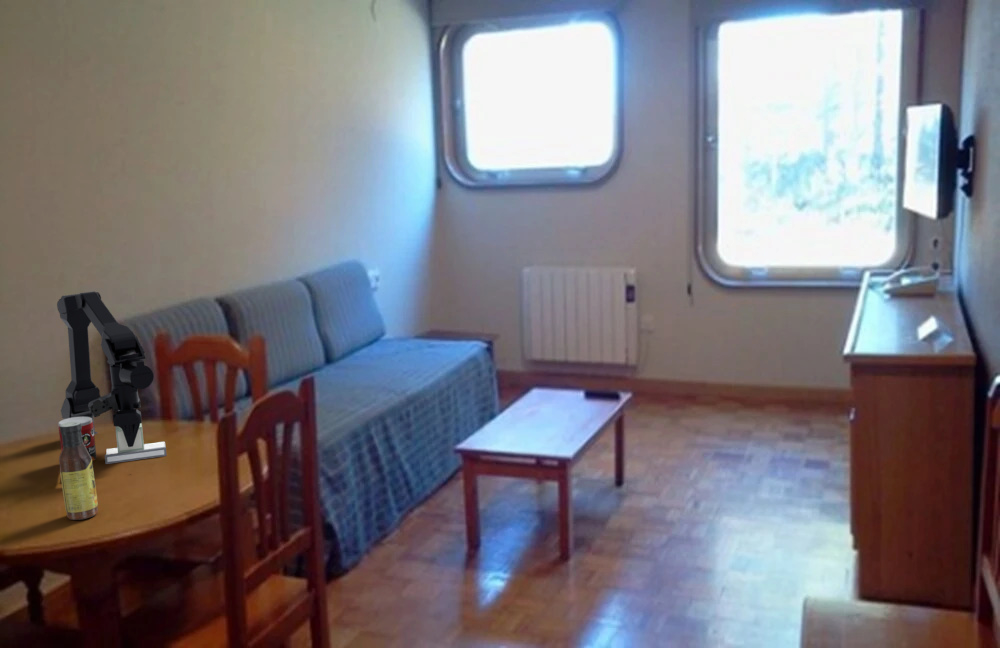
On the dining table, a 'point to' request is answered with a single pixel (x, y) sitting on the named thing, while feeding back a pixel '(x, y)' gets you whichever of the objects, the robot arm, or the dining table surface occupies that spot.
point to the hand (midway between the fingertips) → (130, 444)
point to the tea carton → (122, 442)
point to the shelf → (136, 453)
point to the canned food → (83, 433)
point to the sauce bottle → (77, 474)
